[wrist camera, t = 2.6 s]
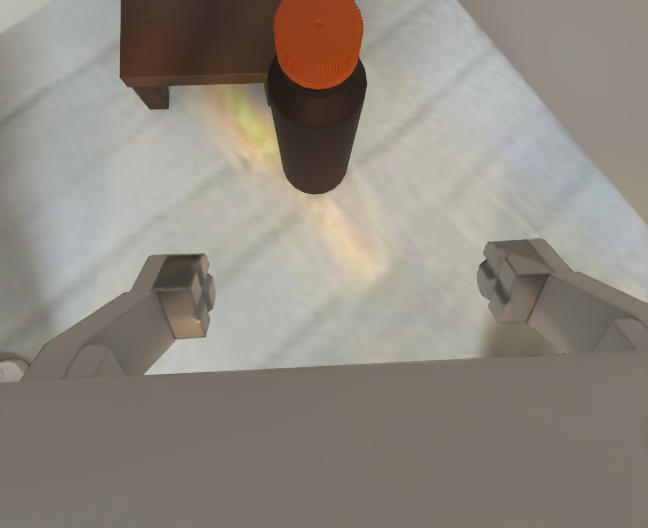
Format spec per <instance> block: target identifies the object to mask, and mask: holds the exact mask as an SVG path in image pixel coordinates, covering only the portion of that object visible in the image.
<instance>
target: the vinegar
mask: <svg viewBox="0 0 648 528" xmlns="http://www.w3.org/2000/svg"><path fill="white" fill-rule="evenodd" d="M359 11H360V10H358V6H357V7H356V3H354V0H353V1H352V0H282V3H281V2H280V6H279V5H278V9H277V12H275V15H274V19H273V20H274V23H273V31H274V38H275V45H276V50H277V54H276V55H275V57H274V58H273V60H272V62H271V63H270V67H269V71H268V76H267V86H268V94H269V100H270V105H271V110H272V115H273V120H274V125H275V130H276V135H277V140H278V145H279V150H280V155H281V160H282V164H283V169H284V173H285V175H286V177H287V179H288V181H289V182H290V183H291V184H292V185H293V186H294V187H295V188H297V189H299V190H301V191H302V192H304V193H309V194H322V193H326V192H328V191H330V190H332V189H334V188H335V187H336V186H337V185H338V184H340V183H341V181H342V179H343V178H344V176H345V174H346V170H347V166H348V162H349V158H350V154H351V150H352V146H353V142H354V138H355V134H356V131H357V127H358V123H359V119H360V115H361V111H362V107H363V103H364V98H365V93H366V88H367V80H366V73H365V68H364V66H363V64H362V62H361V60H360V58H359V51H360V47H361V41H362V36H363V28H364V27H363V20H362V16H361V13H360V12H359Z"/></svg>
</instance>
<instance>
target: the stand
mask: <svg viewBox="0 0 648 528" xmlns="http://www.w3.org/2000/svg"><path fill="white" fill-rule="evenodd" d="M280 2H281V3H282V0H121V34H120V78H121V79H122V81H123V82H124V83H125V84H126V85H127V87H132V88H133V89H134V90H135V92H136V93H137V94H138V95H139V97H140V98H141V99H142V100H143V102H144V103H145V104H146V105H147V106H148V108H149V109H168V90H167V89H166V87H165V86H175V85H212V84H249V83H264V86H265V91H266V96H267V101H268V105H269V106H271V105H270V100H269V94H268V86H267V76H268V71H269V67H270V63H271V62H272V60H273V58H274V57H275V55H276V54H277V50H276V45H275V38H274V31H273V23H274V20H273V19H274V15H275V12H277V9H278V5H279V6H280Z"/></svg>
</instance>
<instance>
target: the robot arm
mask: <svg viewBox="0 0 648 528" xmlns="http://www.w3.org/2000/svg"><path fill="white" fill-rule="evenodd" d="M483 254H484V256H485V257H486V260H485V261H484V262H482V263H481V264H480V265H479V269H478V273H477V284H478V287H479V290H480V292H481V294H482V296H484V297H485V298H487V299H488V300H490V303H489V306H488V307H489V309H490V310H491V312H492V314H493V316H494V318H495V319H496V321H497V323H518V322H527V324H528V325H529V326H531V327H532V328H533V329H534V330H536V331H537V332H538V333H540V334H541V335H542V336H544V337H545V338H546V339H548V340H549V341H550V342H552V343H553V344H554V345H555V346H557V347H558V348H559V349H561V350H562V351H563V352H565V353H566V354H548V355H530V356H510V357H490V358H470V359H450V360H430V361H410V362H391V363H372V364H353V365H334V366H315V367H296V368H277V369H257V370H238V371H219V372H199V373H180V374H160V375H143V374H144V373H145V372H146V371H147V370H148V369H149V368H150V367H151V366H152V365H153V364H154V363H155V362H156V361H157V360H158V359H159V358H160V357H161V355H162V354H163V353H164V352H165V351H166V350H167V349H168V348H169V347H170V346H171V345H172V344H173V343H174V342H175V339H189V338H202V337H206V334H207V330H208V326H209V322H210V317H209V314H208V312H209V311H210V310H212V309H213V306H214V302H215V286H214V281H213V277H212V276H211V275H209V274H208V273H207V272H208V269H209V262H208V258H207V256H206V255H205V254H204V253H202V254H170V255H168V254H163V255H151V256H149V257H148V259H147V260H146V262H145V264H144V266H143V268H142V270H141V272H140V274H139V276H138V278H137V279H136V281H135V283H134V285H133V287H132V289H131V291H130V292H126V293H123V294H121V295H120V296H118V297H117V298H115V299H114V300H112V301H111V302H109V303H108V304H106V305H104V306H103V307H101V308H100V309H98V310H97V311H95V312H94V313H92V314H91V315H89V316H88V317H86V318H85V319H83V320H81V321H80V322H78V323H77V324H75V325H74V326H72V327H71V328H69V329H68V330H66V331H65V332H63V333H62V334H60V335H58V336H57V337H55V338H54V339H52V340H51V341H49V342H48V343H46V344H45V345H43V347H42V348H41V350H40V351H39V353H38V354H37V356H36V357H35V358H34V360H33V361H32V363H31V364H30V366H29V367H28V365H27V364H26V363H25V362H24V361H22V360H20V359H10V360H6V361H2V362H0V375H1V377H0V528H648V303H645V302H643V301H641V300H639V299H637V298H635V297H632V296H630V295H628V294H626V293H624V292H622V291H619V290H617V289H615V288H613V287H611V286H609V285H606V284H604V283H602V282H600V281H598V280H596V279H593V278H591V277H589V276H587V275H585V274H583V273H580V272H573V271H572V270H571V269H570V267H569V266H568V265H567V264H566V263H565V262H564V261H563V260H562V259H561V257H560V256H559V255H558V254H557V253H556V252H555V251H554V250H553V249H552V247H551V246H550V245H549V244H548V243H547V242H546V241H545V240H543V239H541V238H535V239H523V240H511V241H492V242H488V243H487V244H486V246H485V249H484V252H483Z"/></svg>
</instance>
